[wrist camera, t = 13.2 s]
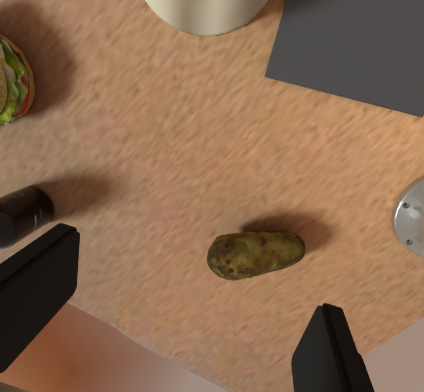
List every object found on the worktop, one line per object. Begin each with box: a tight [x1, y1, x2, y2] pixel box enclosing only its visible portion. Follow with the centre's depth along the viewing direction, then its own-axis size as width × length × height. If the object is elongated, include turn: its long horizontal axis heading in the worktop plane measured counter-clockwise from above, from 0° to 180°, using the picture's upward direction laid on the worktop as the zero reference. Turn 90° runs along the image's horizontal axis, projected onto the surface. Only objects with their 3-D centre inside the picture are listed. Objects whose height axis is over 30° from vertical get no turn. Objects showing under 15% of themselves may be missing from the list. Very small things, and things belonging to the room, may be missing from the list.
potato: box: [207, 231, 305, 280], centre depth 40 cm, size 8×13×8 cm, turn 75°
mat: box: [265, 0, 424, 117], centre depth 31 cm, size 19×19×1 cm
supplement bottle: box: [0, 187, 54, 249], centre depth 43 cm, size 7×7×12 cm
